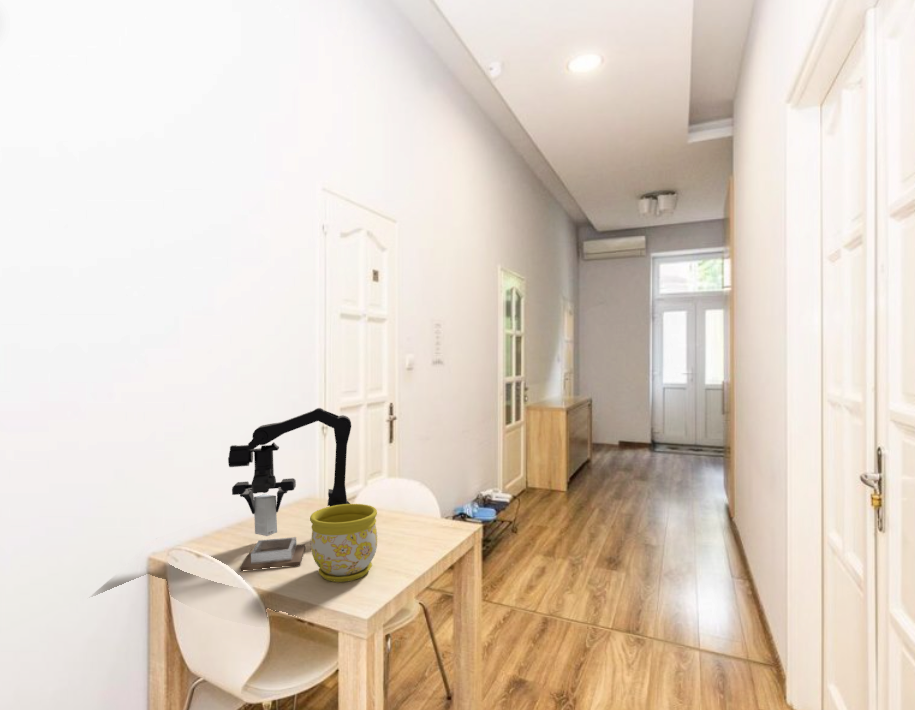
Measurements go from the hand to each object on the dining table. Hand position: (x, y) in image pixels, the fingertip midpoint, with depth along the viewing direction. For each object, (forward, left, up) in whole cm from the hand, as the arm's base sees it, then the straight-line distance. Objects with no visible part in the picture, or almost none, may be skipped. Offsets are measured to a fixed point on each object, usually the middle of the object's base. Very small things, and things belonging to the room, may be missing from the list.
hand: (265, 512), depth 165 cm
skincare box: (0, 0, -7) cm, 7 cm away
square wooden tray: (-5, +15, -10) cm, 19 cm away
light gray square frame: (-5, +15, -9) cm, 18 cm away
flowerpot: (-26, +30, -10) cm, 41 cm away
